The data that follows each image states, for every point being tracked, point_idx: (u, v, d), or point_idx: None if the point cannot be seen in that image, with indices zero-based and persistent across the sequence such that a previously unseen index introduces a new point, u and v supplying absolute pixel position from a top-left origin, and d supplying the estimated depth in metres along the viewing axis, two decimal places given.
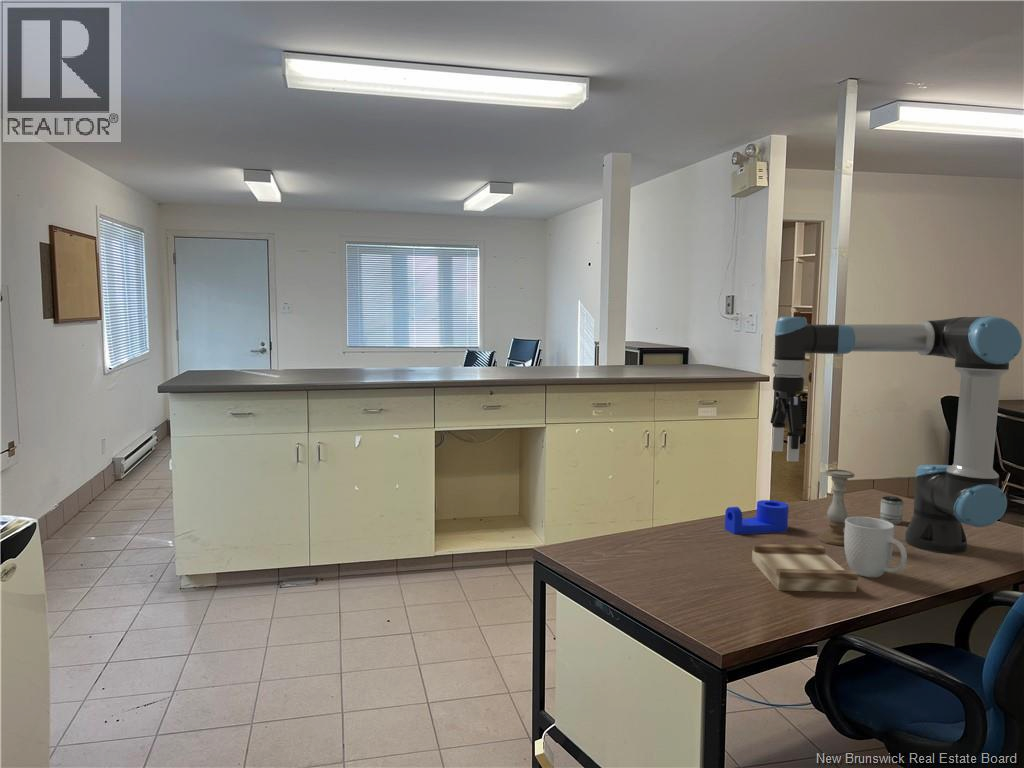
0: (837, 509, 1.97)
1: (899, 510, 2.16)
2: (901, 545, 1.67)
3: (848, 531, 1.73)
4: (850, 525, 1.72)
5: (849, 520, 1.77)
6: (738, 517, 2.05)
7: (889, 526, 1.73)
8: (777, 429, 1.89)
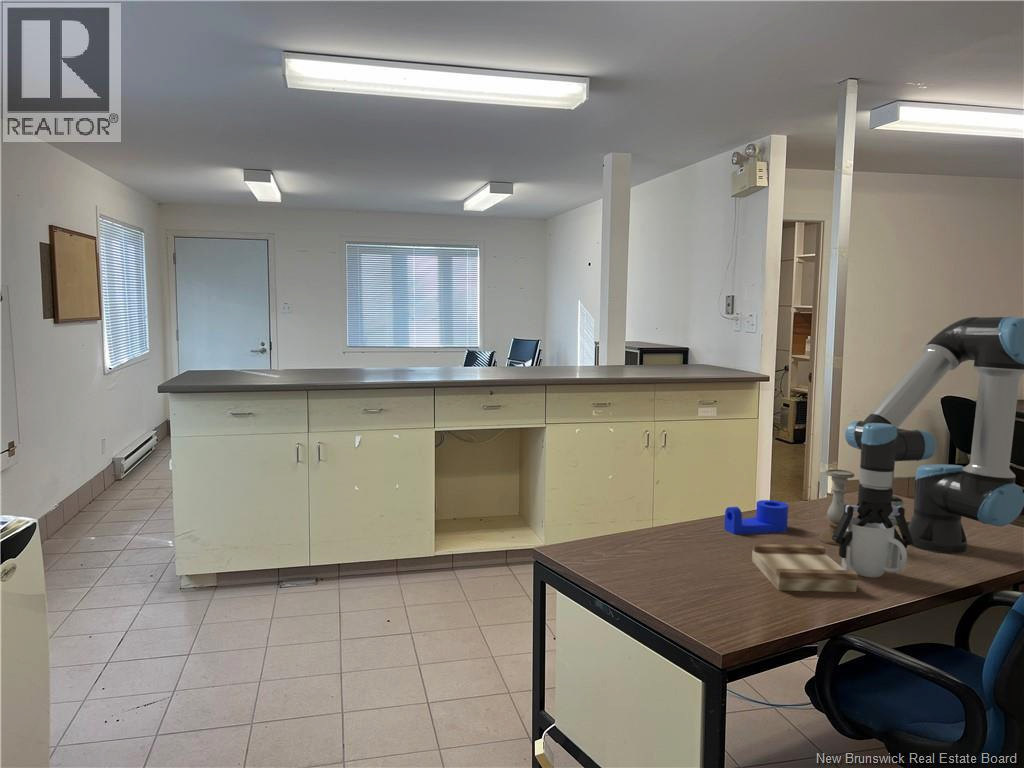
0: (837, 509, 1.97)
1: None
2: (901, 545, 1.67)
3: None
4: (850, 525, 1.72)
5: None
6: (738, 517, 2.05)
7: None
8: (894, 547, 1.73)
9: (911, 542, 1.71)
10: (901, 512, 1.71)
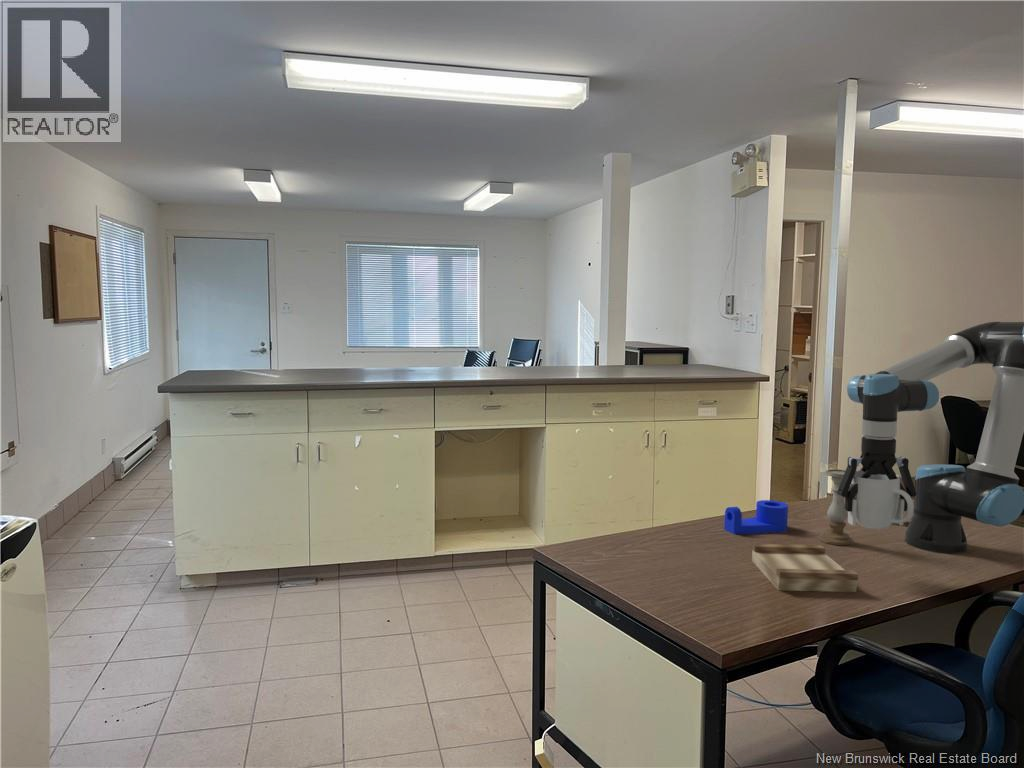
0: (837, 509, 1.97)
1: None
2: (907, 495, 1.66)
3: None
4: (855, 478, 1.71)
5: None
6: (738, 517, 2.05)
7: None
8: None
9: (914, 493, 1.70)
10: (905, 463, 1.70)
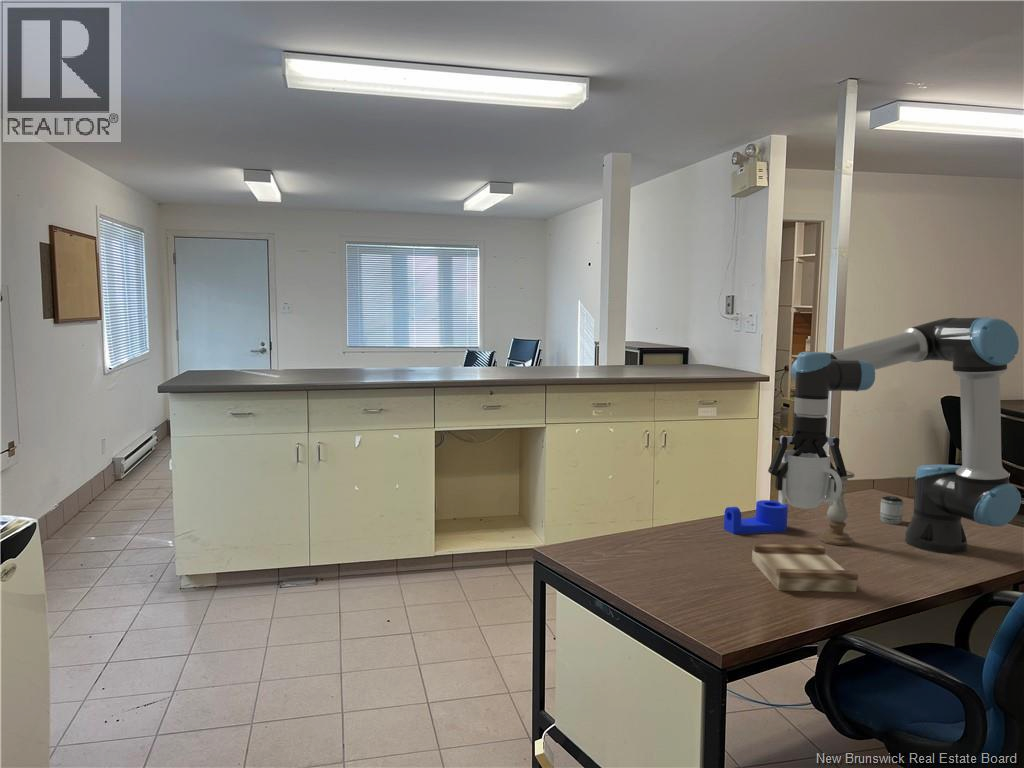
0: (837, 509, 1.97)
1: (899, 510, 2.16)
2: (836, 474, 1.64)
3: None
4: (786, 456, 1.69)
5: (787, 453, 1.74)
6: (737, 517, 2.05)
7: None
8: None
9: (845, 473, 1.68)
10: (836, 442, 1.68)
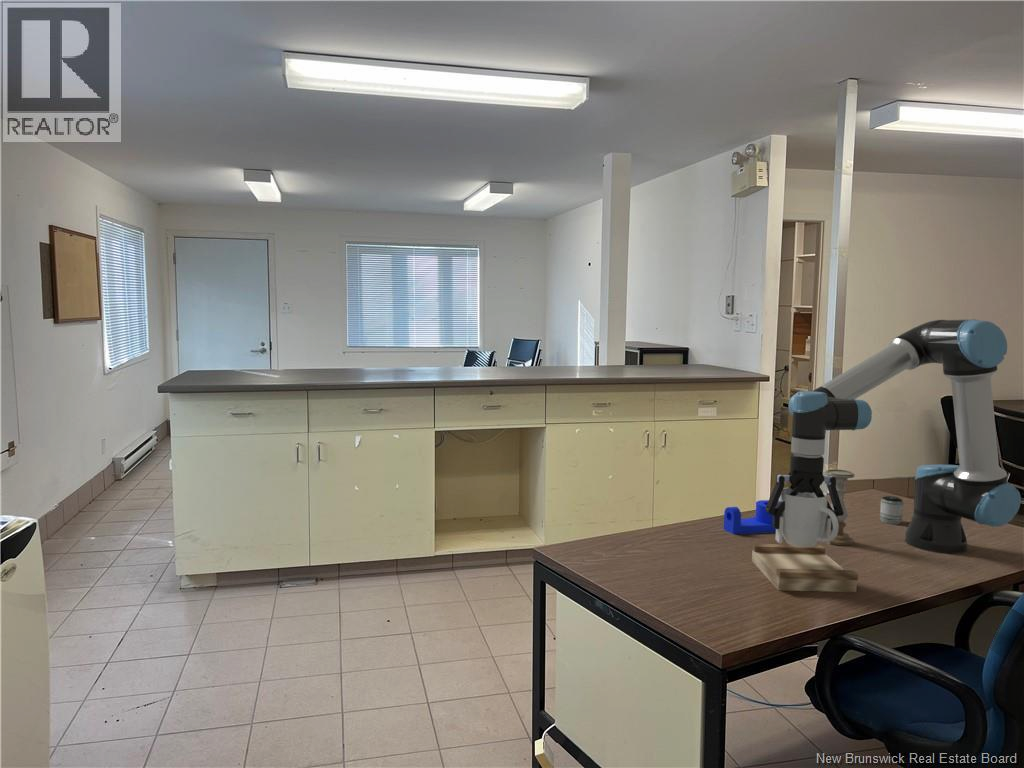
0: None
1: (899, 510, 2.16)
2: (833, 514, 1.65)
3: (781, 501, 1.71)
4: (783, 495, 1.70)
5: (784, 491, 1.75)
6: (737, 517, 2.05)
7: None
8: None
9: (841, 512, 1.69)
10: (832, 482, 1.69)
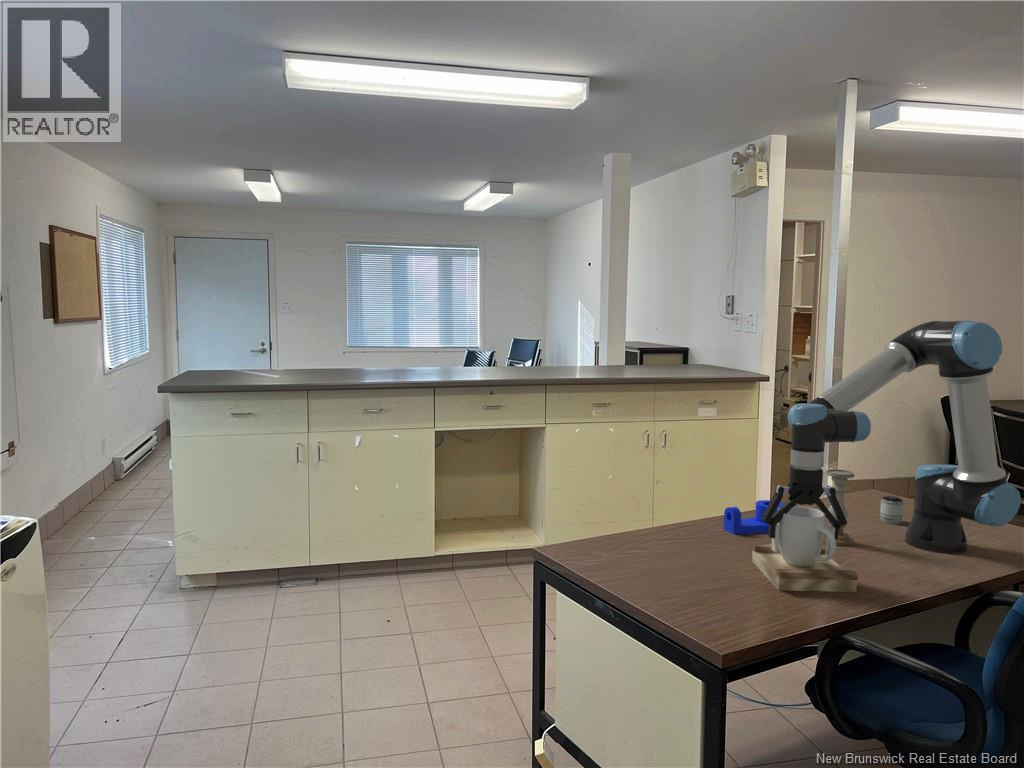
0: None
1: (899, 510, 2.16)
2: (830, 534, 1.65)
3: None
4: None
5: None
6: (737, 517, 2.05)
7: (821, 515, 1.71)
8: (829, 527, 1.71)
9: (845, 522, 1.69)
10: (832, 492, 1.69)
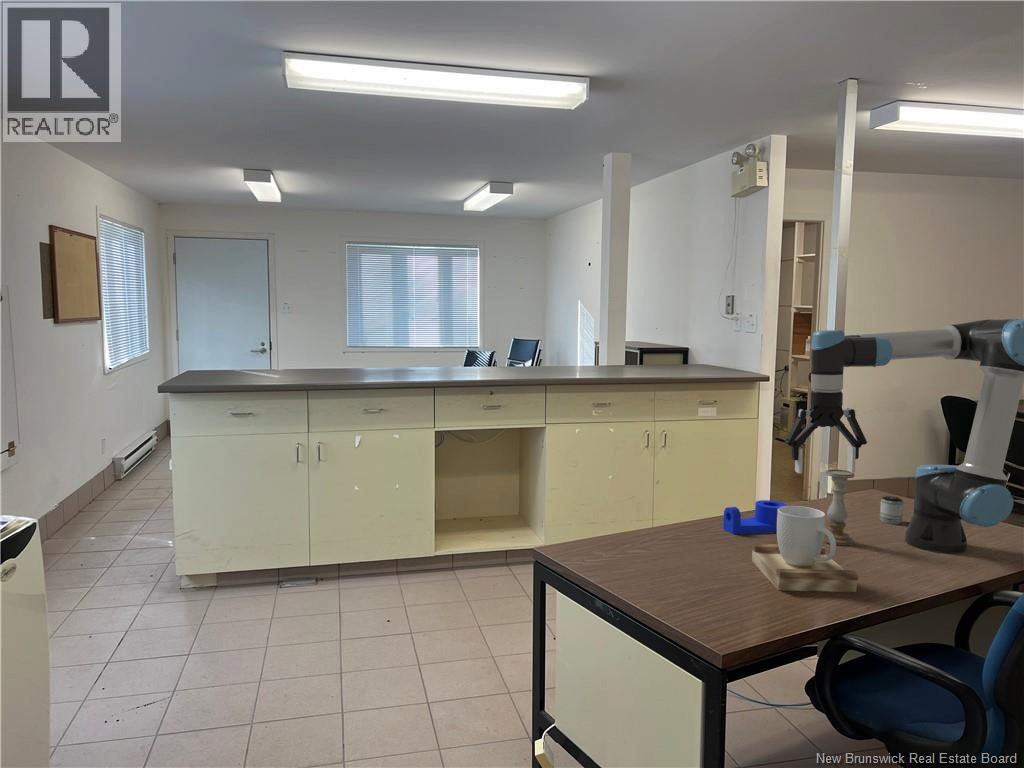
0: (837, 509, 1.97)
1: (899, 510, 2.16)
2: (830, 534, 1.65)
3: (779, 520, 1.71)
4: (781, 514, 1.70)
5: (782, 509, 1.75)
6: (736, 517, 2.05)
7: (821, 515, 1.71)
8: (849, 448, 1.79)
9: (865, 441, 1.77)
10: (852, 414, 1.77)
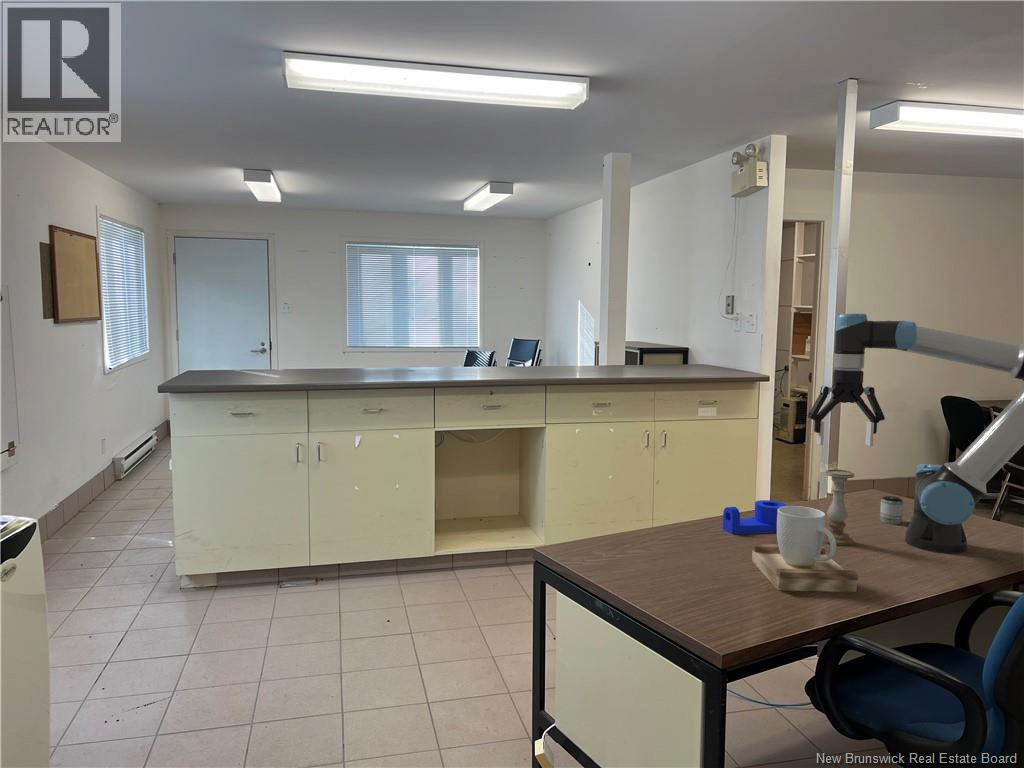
0: (837, 509, 1.97)
1: (899, 510, 2.16)
2: (830, 534, 1.65)
3: (779, 520, 1.71)
4: (781, 514, 1.70)
5: (782, 509, 1.75)
6: (736, 517, 2.05)
7: (821, 515, 1.71)
8: (868, 423, 1.93)
9: (883, 417, 1.91)
10: (871, 391, 1.91)
